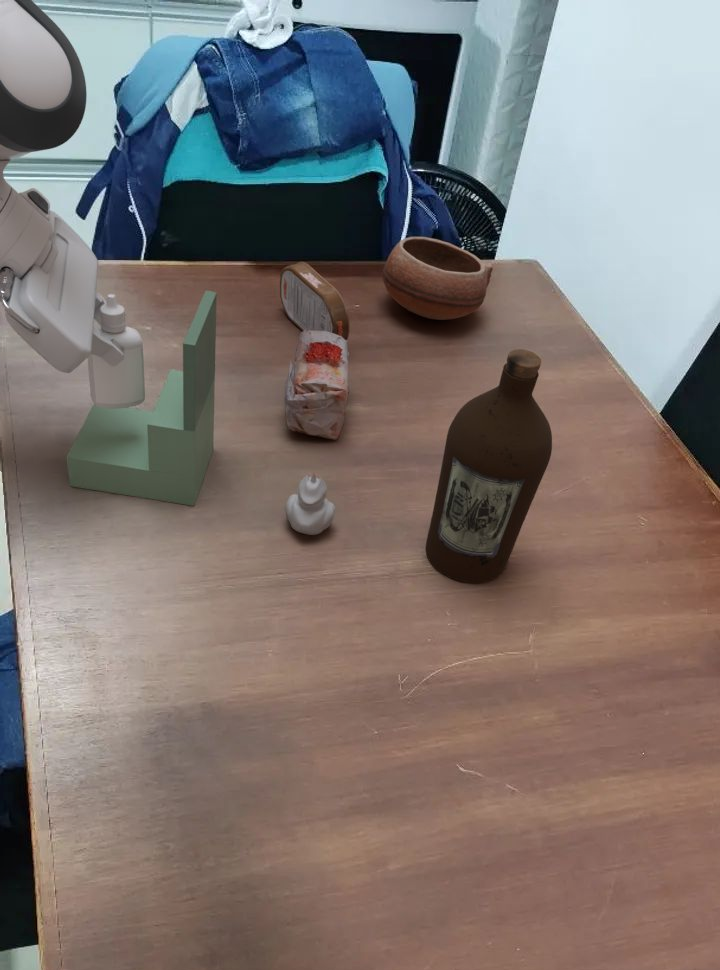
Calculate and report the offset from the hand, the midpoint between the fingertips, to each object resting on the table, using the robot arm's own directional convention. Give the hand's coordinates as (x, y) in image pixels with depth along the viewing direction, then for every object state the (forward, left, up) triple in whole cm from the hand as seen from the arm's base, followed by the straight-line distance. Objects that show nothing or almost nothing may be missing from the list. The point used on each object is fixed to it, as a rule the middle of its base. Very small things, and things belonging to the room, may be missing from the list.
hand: (120, 346), depth 95 cm
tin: (+17, +37, -15) cm, 43 cm away
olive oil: (+40, -6, -15) cm, 43 cm away
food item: (+20, +17, -15) cm, 30 cm away
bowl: (+34, +49, -15) cm, 61 cm away
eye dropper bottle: (-1, 0, -7) cm, 7 cm away
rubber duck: (+22, -5, -15) cm, 27 cm away
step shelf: (+2, 0, -15) cm, 15 cm away
